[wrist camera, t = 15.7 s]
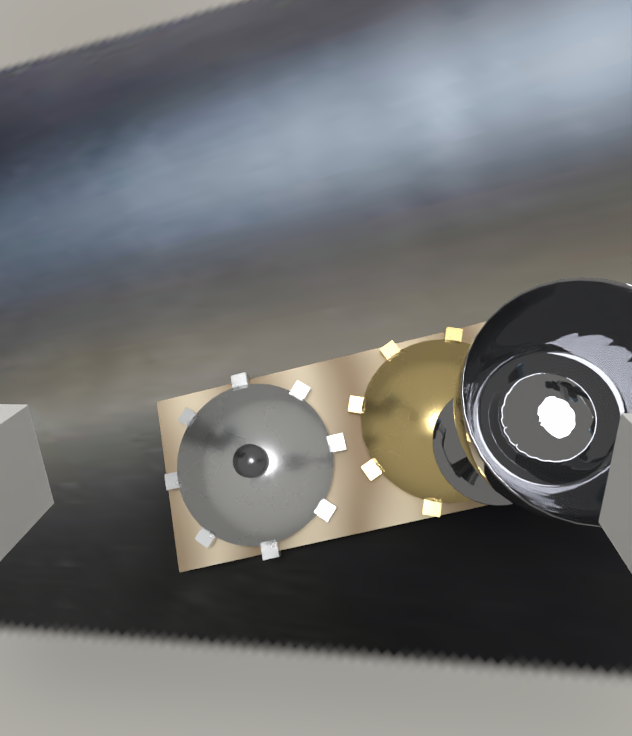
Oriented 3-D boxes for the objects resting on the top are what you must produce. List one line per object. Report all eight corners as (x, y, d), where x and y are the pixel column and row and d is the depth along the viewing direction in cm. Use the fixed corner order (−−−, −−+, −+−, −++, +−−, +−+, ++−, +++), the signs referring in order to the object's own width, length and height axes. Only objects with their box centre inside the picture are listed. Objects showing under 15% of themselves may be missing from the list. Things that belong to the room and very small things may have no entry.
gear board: (189, 574, 33) (166, 582, 30) (165, 401, 36) (142, 391, 33) (561, 492, 31) (583, 492, 28) (503, 319, 34) (516, 300, 31)
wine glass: (594, 455, 30) (795, 414, 15) (488, 542, 29) (591, 586, 15) (498, 352, 32) (593, 231, 17) (398, 432, 31) (410, 376, 17)
